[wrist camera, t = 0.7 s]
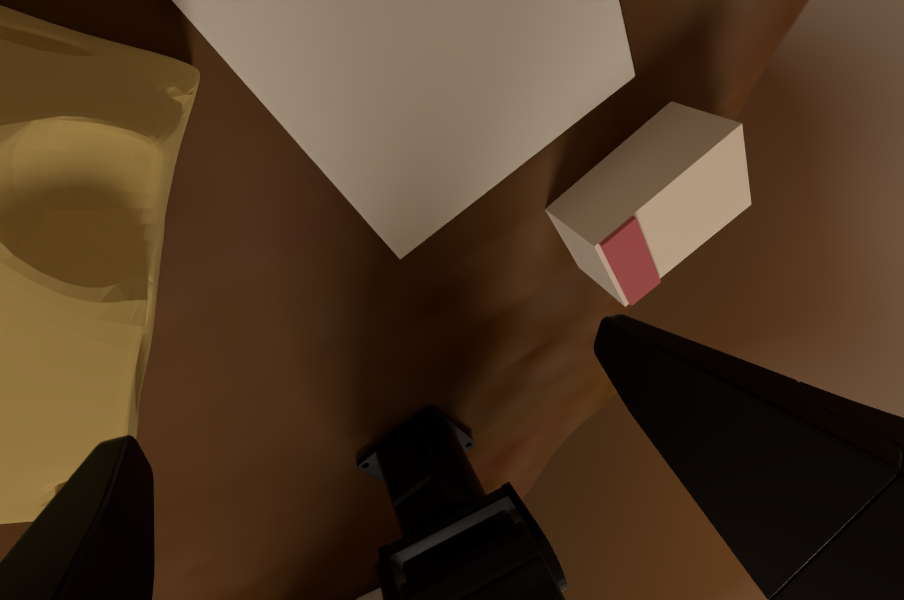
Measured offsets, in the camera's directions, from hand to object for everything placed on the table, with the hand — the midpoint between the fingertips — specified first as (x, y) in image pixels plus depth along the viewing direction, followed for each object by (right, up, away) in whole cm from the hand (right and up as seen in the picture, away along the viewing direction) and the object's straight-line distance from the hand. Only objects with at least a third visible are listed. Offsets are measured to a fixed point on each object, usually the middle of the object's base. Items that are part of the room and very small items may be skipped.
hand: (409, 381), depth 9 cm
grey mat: (+1, +12, +9) cm, 15 cm away
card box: (+10, +8, +17) cm, 22 cm away
